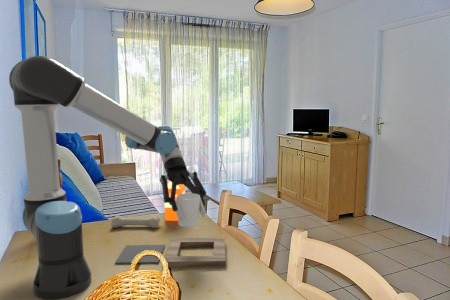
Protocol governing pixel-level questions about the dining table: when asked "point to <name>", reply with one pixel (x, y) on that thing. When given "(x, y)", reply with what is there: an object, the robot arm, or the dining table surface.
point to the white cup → (189, 209)
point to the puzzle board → (196, 261)
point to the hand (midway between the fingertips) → (192, 216)
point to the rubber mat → (133, 250)
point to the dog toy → (135, 222)
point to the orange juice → (169, 212)
